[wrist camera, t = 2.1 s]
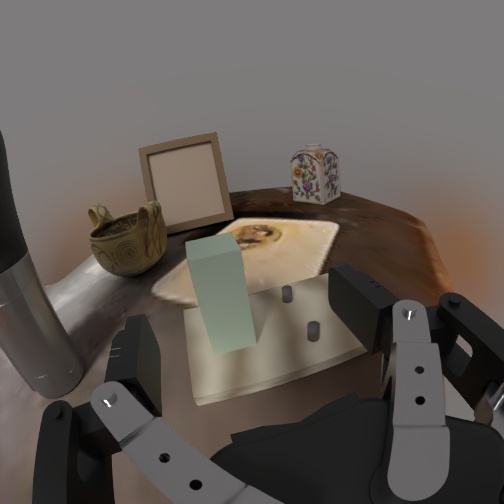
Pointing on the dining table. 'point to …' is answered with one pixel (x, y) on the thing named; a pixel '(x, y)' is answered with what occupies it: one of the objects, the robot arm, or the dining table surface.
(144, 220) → the ceramic bowl
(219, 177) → the photo frame
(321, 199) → the decorative jar
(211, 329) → the green block
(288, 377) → the peg board
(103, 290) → the dining table surface
